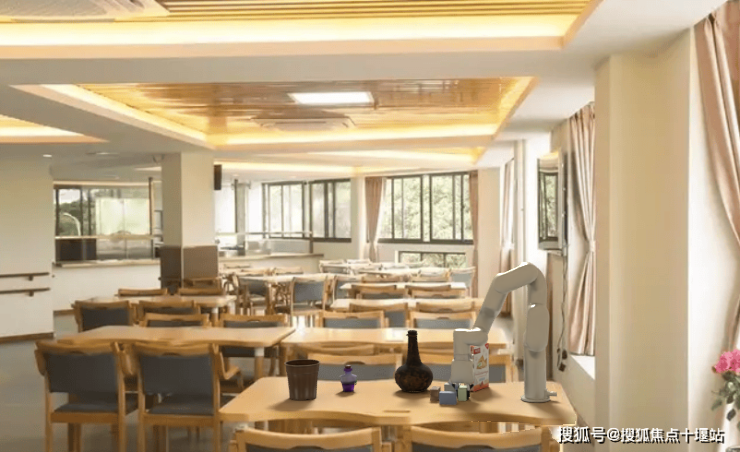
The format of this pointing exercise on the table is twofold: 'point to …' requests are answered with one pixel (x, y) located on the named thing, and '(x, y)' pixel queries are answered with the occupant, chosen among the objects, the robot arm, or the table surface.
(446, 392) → the blue block
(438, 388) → the walnut brick
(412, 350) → the glass bottle
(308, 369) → the plant pot
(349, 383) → the potion bottle
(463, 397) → the sage brick
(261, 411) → the table surface
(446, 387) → the slate brick
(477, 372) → the cracker box
